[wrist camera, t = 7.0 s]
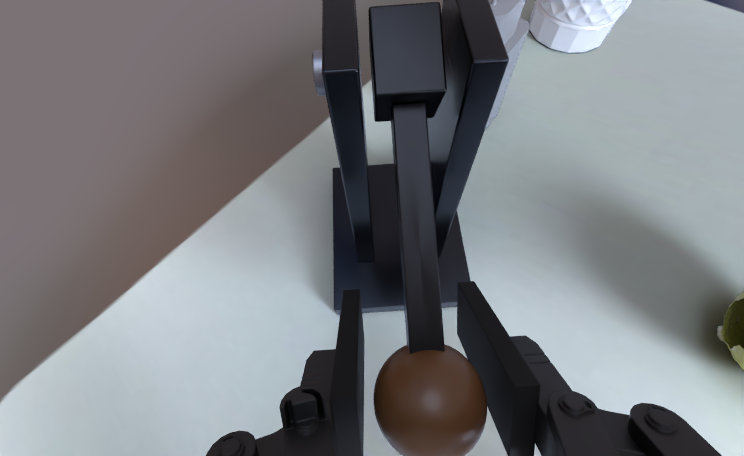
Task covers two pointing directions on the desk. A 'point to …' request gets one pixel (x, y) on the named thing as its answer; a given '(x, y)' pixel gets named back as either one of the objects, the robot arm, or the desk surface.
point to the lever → (419, 246)
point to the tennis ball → (734, 329)
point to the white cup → (574, 22)
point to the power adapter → (508, 40)
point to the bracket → (377, 182)
